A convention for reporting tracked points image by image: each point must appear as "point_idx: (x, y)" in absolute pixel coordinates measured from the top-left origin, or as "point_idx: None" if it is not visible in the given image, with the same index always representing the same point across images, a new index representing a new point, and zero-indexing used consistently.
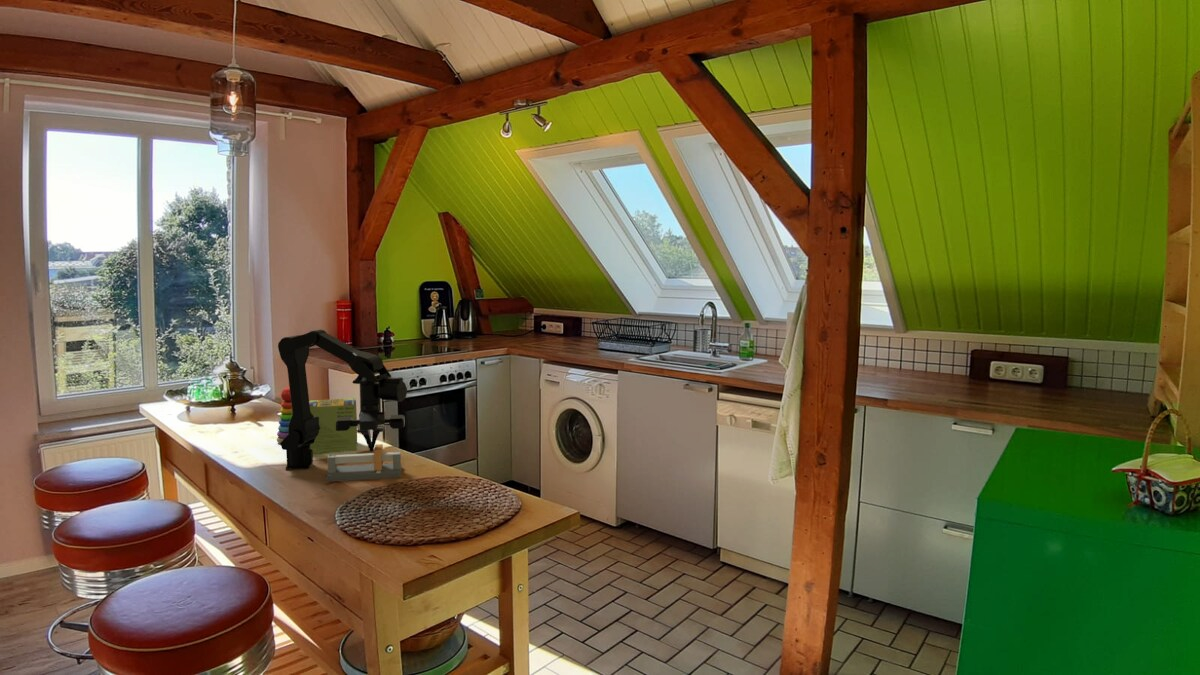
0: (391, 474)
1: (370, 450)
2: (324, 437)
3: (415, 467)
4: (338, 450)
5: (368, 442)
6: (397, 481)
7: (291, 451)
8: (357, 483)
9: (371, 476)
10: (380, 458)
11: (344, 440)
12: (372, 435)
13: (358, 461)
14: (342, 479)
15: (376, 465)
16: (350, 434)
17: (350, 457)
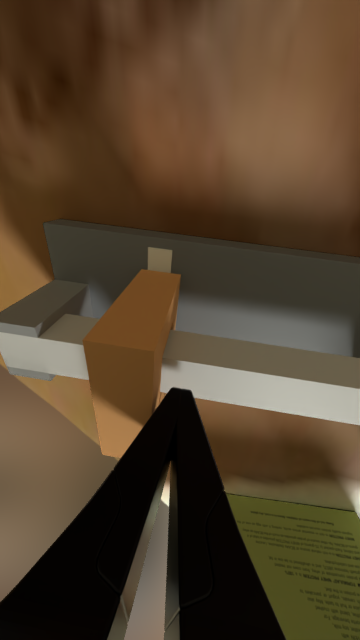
0: (92, 227)
1: (188, 395)
2: (325, 569)
3: None
4: (271, 504)
5: (199, 473)
6: (58, 145)
7: None
8: (285, 177)
9: (199, 239)
10: (121, 299)
11: (259, 539)
12: (116, 609)
13: (269, 347)
14: (354, 257)
15: (162, 283)
16: None
17: (332, 378)
